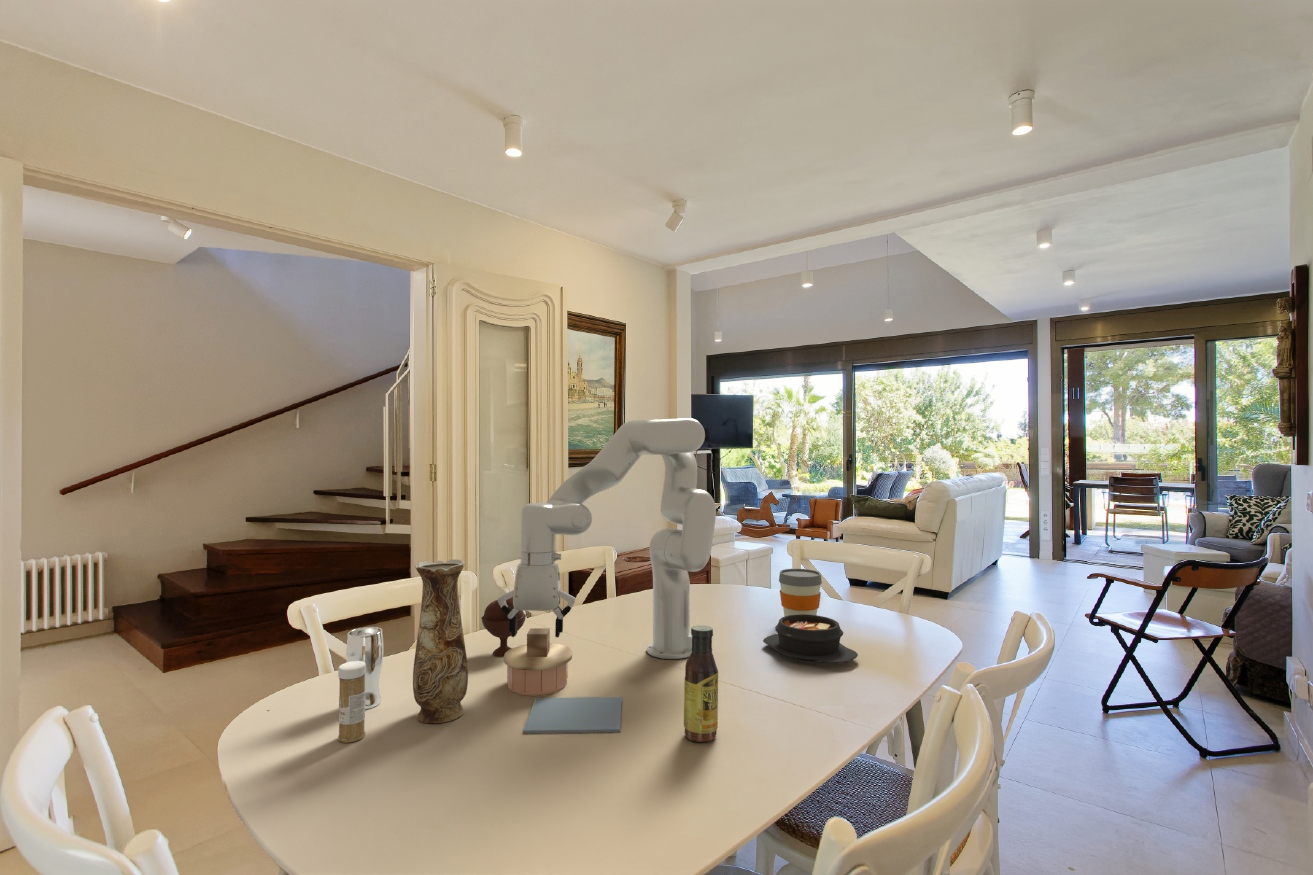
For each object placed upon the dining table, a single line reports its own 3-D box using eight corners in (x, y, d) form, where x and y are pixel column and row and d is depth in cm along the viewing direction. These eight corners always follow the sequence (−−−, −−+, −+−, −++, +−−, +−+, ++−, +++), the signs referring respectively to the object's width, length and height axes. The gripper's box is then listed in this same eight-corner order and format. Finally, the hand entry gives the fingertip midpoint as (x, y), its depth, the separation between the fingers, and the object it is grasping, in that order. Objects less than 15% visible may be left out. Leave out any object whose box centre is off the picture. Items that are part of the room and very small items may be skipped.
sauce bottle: (707, 747, 113) (708, 635, 113) (677, 738, 116) (677, 629, 116) (724, 733, 118) (724, 626, 119) (694, 725, 122) (694, 621, 122)
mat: (621, 699, 134) (621, 696, 134) (620, 731, 119) (620, 729, 119) (536, 700, 133) (536, 697, 133) (523, 733, 118) (523, 730, 118)
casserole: (747, 649, 166) (747, 617, 166) (792, 635, 178) (792, 605, 178) (829, 677, 147) (829, 640, 147) (872, 659, 159) (872, 625, 159)
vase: (416, 729, 120) (416, 570, 120) (409, 708, 129) (410, 560, 129) (472, 718, 124) (473, 565, 125) (462, 699, 134) (462, 556, 134)
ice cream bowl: (530, 646, 168) (530, 589, 168) (516, 661, 157) (517, 600, 157) (491, 645, 169) (491, 588, 169) (475, 659, 158) (475, 599, 158)
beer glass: (390, 699, 133) (390, 628, 134) (365, 713, 127) (365, 638, 127) (364, 695, 136) (364, 625, 136) (338, 708, 129) (338, 634, 129)
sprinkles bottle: (334, 737, 117) (334, 664, 117) (360, 729, 120) (361, 658, 120) (342, 746, 113) (343, 670, 113) (369, 738, 116) (369, 664, 116)
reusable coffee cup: (794, 614, 199) (794, 566, 199) (829, 622, 190) (829, 572, 190) (770, 622, 191) (770, 572, 191) (806, 631, 182) (806, 579, 182)
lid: (575, 651, 150) (575, 621, 150) (568, 674, 135) (568, 641, 135) (511, 651, 150) (511, 621, 150) (497, 675, 135) (497, 642, 135)
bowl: (570, 673, 149) (570, 648, 149) (563, 696, 136) (563, 667, 136) (514, 674, 149) (514, 648, 149) (502, 696, 136) (502, 668, 136)
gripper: (578, 556, 146) (576, 631, 146) (502, 555, 146) (500, 630, 146) (574, 562, 139) (573, 640, 139) (495, 561, 138) (493, 640, 138)
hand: (536, 635), depth 142 cm, fingers open, 9 cm apart
